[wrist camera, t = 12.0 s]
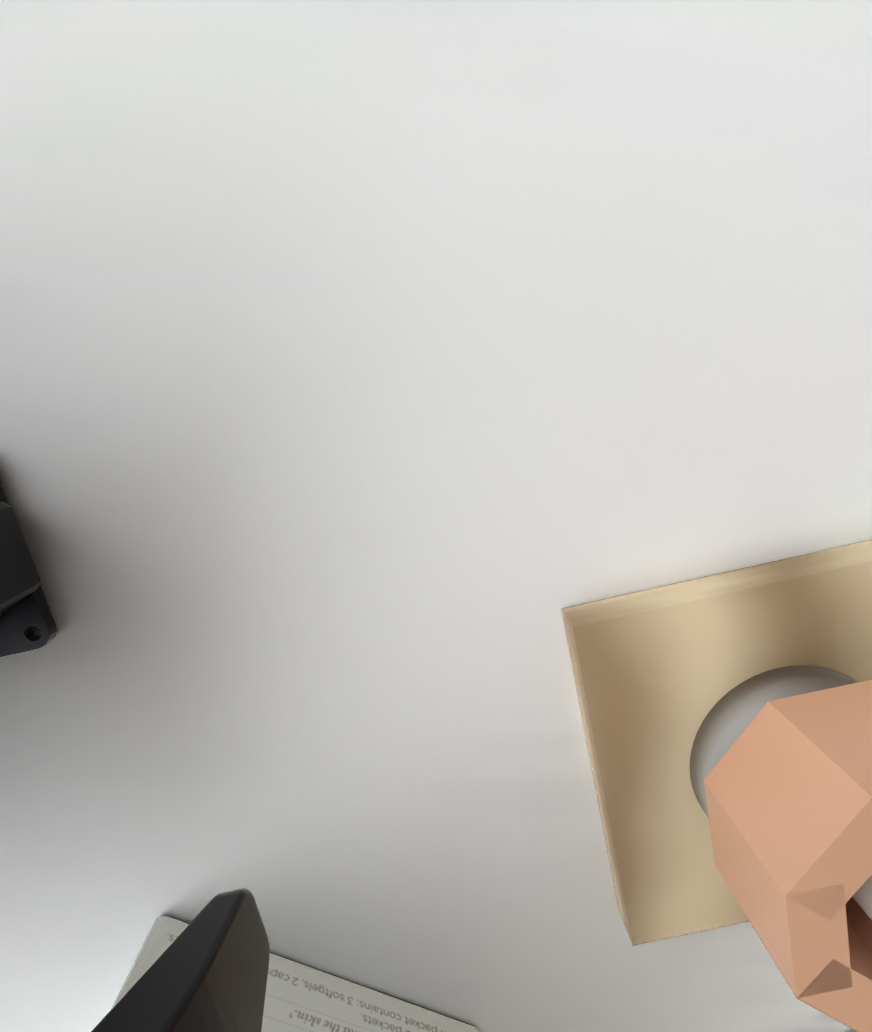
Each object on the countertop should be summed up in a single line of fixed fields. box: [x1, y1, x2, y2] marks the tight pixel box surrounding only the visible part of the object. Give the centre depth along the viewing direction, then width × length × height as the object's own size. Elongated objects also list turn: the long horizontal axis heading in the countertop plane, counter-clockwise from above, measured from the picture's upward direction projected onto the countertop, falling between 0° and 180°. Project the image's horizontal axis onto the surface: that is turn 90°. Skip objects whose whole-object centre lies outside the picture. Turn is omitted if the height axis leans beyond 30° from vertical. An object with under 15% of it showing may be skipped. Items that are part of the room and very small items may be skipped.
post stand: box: [562, 540, 872, 945], centre depth 17 cm, size 12×12×8 cm
